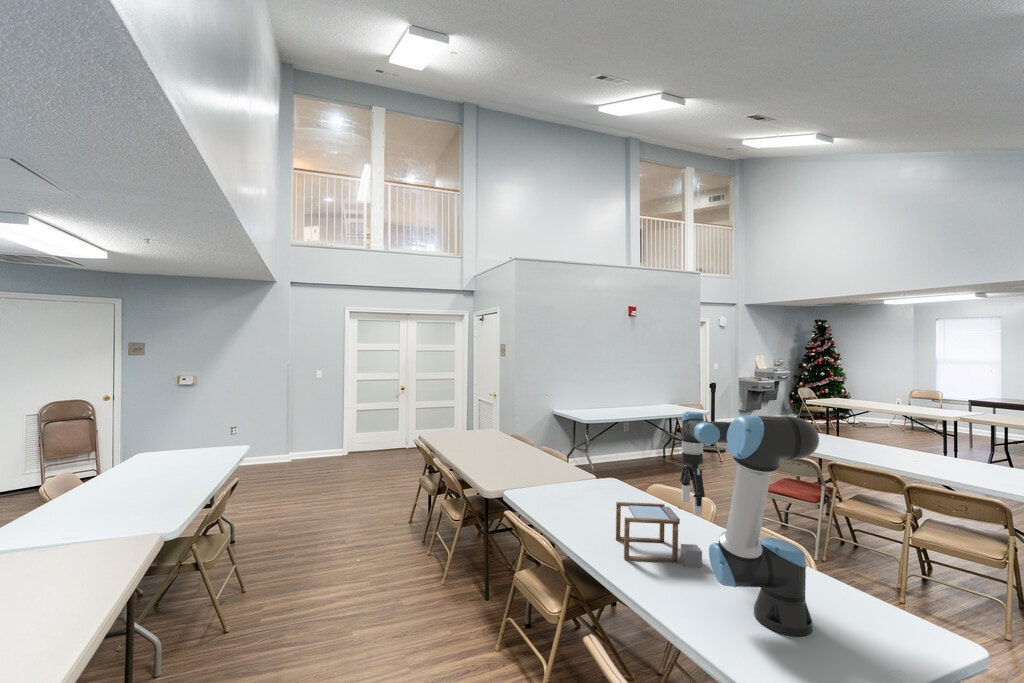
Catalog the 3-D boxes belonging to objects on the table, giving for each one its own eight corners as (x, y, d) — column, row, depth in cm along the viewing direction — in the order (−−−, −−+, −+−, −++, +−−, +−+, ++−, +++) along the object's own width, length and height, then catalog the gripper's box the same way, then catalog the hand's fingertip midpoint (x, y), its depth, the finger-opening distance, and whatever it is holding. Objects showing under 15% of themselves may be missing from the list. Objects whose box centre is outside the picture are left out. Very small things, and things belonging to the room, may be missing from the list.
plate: (680, 525, 176) (680, 519, 176) (636, 523, 177) (636, 518, 177) (668, 510, 192) (668, 506, 192) (628, 509, 193) (628, 504, 193)
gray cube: (701, 567, 170) (702, 551, 171) (685, 566, 171) (685, 550, 171) (696, 560, 176) (696, 544, 177) (680, 559, 177) (680, 543, 177)
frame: (677, 562, 174) (678, 521, 174) (624, 560, 175) (625, 518, 175) (663, 540, 194) (663, 503, 194) (615, 538, 195) (616, 501, 195)
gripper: (715, 460, 162) (714, 520, 162) (691, 445, 187) (690, 497, 187) (693, 459, 162) (692, 519, 162) (672, 445, 187) (671, 497, 187)
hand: (691, 508), depth 174 cm, fingers open, 13 cm apart
